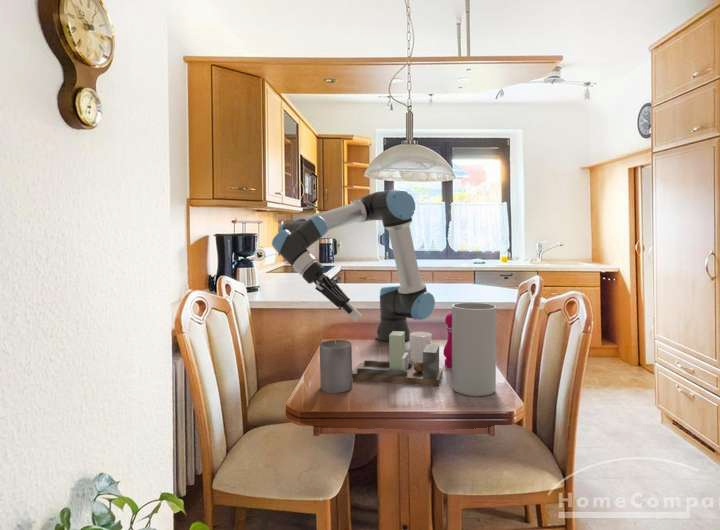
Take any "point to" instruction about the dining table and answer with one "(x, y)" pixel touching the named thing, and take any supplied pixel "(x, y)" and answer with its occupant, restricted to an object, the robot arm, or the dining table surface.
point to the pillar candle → (336, 366)
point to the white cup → (418, 344)
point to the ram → (397, 351)
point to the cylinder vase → (474, 348)
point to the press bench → (415, 374)
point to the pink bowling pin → (448, 341)
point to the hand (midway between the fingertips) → (359, 318)
